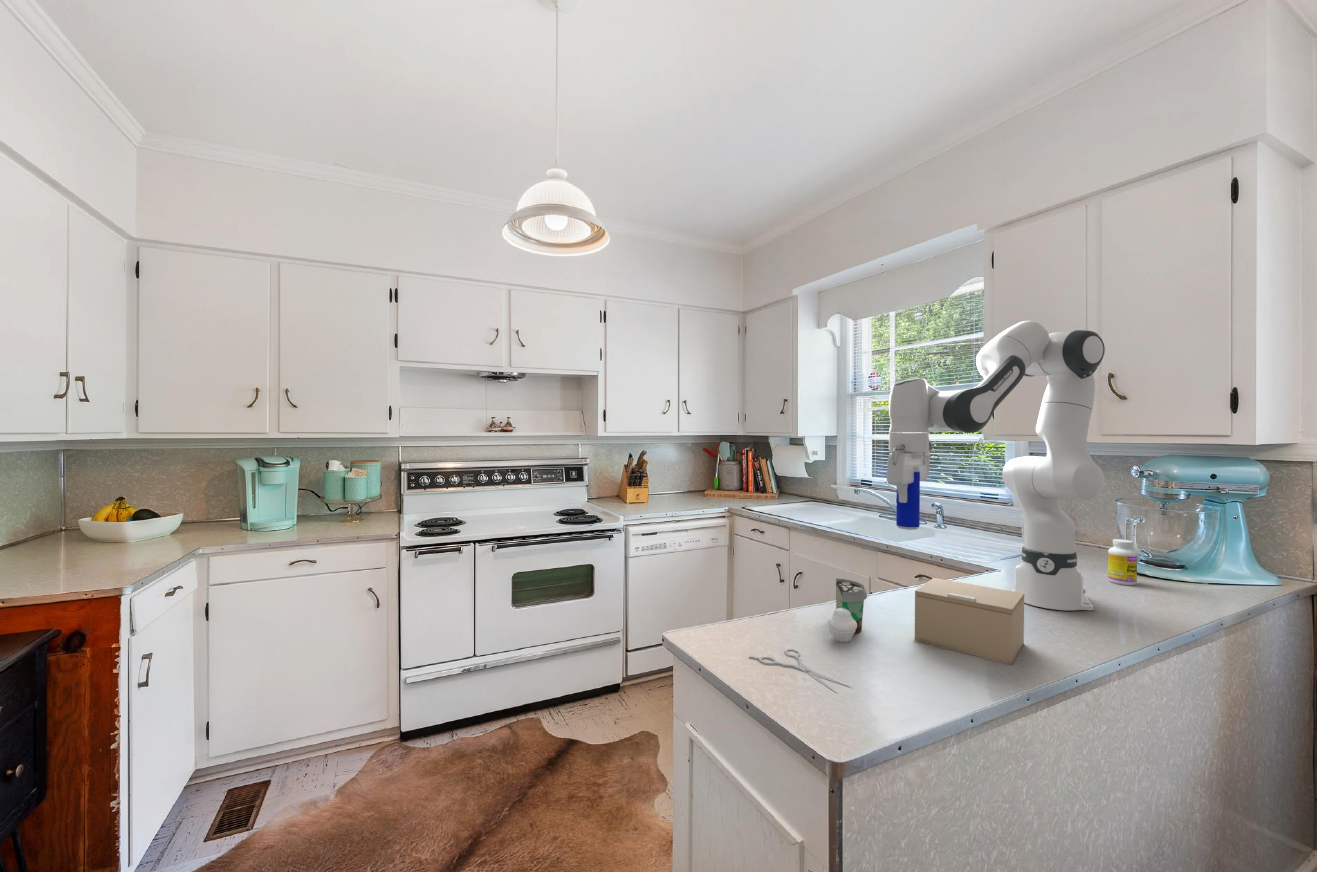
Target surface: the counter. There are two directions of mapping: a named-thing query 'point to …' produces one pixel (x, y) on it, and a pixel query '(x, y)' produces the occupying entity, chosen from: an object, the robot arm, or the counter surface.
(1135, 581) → the supplement bottle
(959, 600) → the lid
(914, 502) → the beverage can
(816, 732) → the counter surface
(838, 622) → the muffin
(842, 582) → the food container
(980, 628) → the tan box
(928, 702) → the counter surface
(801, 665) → the scissors
